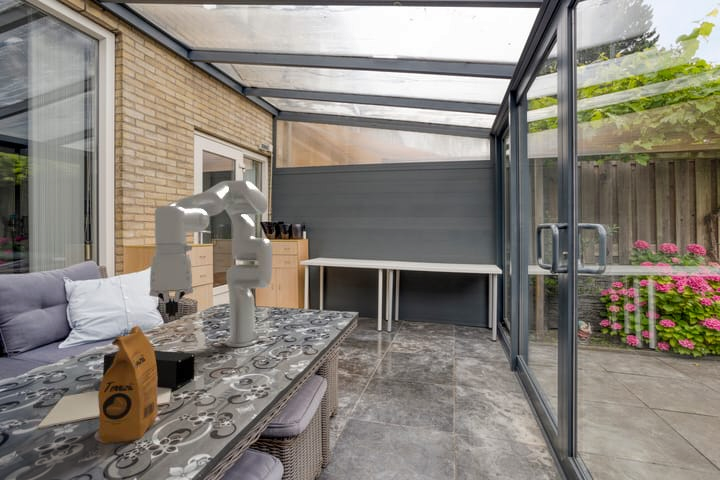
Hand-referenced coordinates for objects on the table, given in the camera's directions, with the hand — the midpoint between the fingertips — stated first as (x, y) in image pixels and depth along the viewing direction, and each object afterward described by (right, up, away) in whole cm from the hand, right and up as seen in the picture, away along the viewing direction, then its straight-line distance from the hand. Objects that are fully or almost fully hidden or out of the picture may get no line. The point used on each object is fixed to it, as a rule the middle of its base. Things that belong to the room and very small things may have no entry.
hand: (172, 315), depth 95 cm
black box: (+2, -17, +4) cm, 18 cm away
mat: (-12, -21, -5) cm, 25 cm away
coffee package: (+1, -22, -18) cm, 28 cm away
